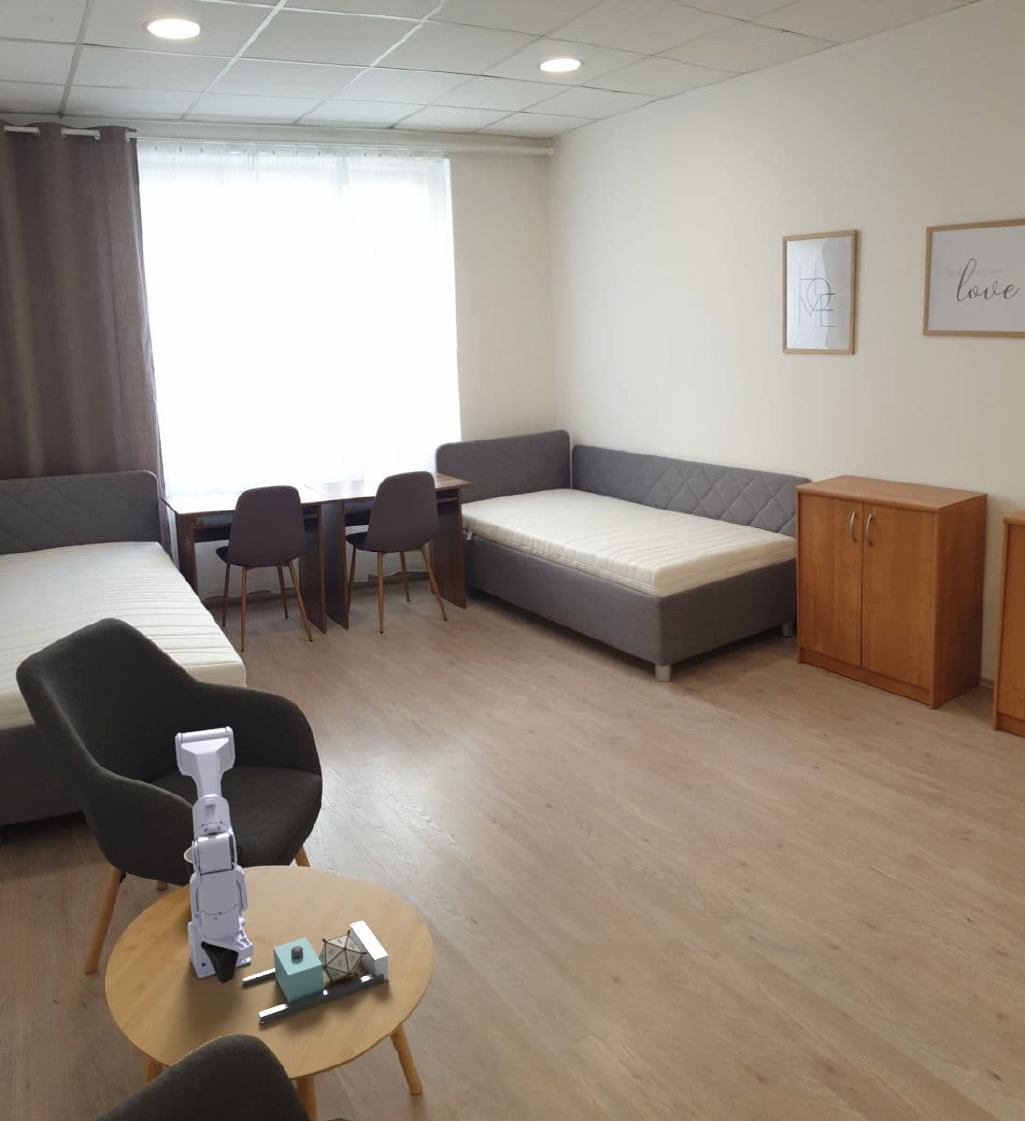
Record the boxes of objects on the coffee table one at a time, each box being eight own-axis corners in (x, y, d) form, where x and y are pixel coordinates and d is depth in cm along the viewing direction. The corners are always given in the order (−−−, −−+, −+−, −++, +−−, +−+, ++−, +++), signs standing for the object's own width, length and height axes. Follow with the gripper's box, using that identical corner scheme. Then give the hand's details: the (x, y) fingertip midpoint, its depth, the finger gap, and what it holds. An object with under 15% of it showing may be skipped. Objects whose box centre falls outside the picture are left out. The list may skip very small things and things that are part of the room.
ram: (290, 1005, 171) (287, 969, 170) (275, 976, 179) (272, 941, 177) (324, 994, 174) (321, 958, 172) (307, 966, 182) (305, 931, 180)
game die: (331, 998, 179) (294, 959, 177) (358, 959, 185) (323, 921, 183) (358, 995, 173) (320, 955, 171) (385, 955, 179) (349, 916, 177)
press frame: (261, 1024, 167) (259, 998, 166) (242, 983, 178) (240, 958, 177) (388, 980, 178) (387, 955, 177) (364, 944, 189) (362, 920, 187)
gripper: (267, 910, 158) (273, 985, 161) (215, 878, 167) (222, 949, 170) (228, 930, 153) (235, 1008, 156) (177, 896, 162) (185, 969, 165)
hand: (226, 979), depth 163 cm, fingers closed
